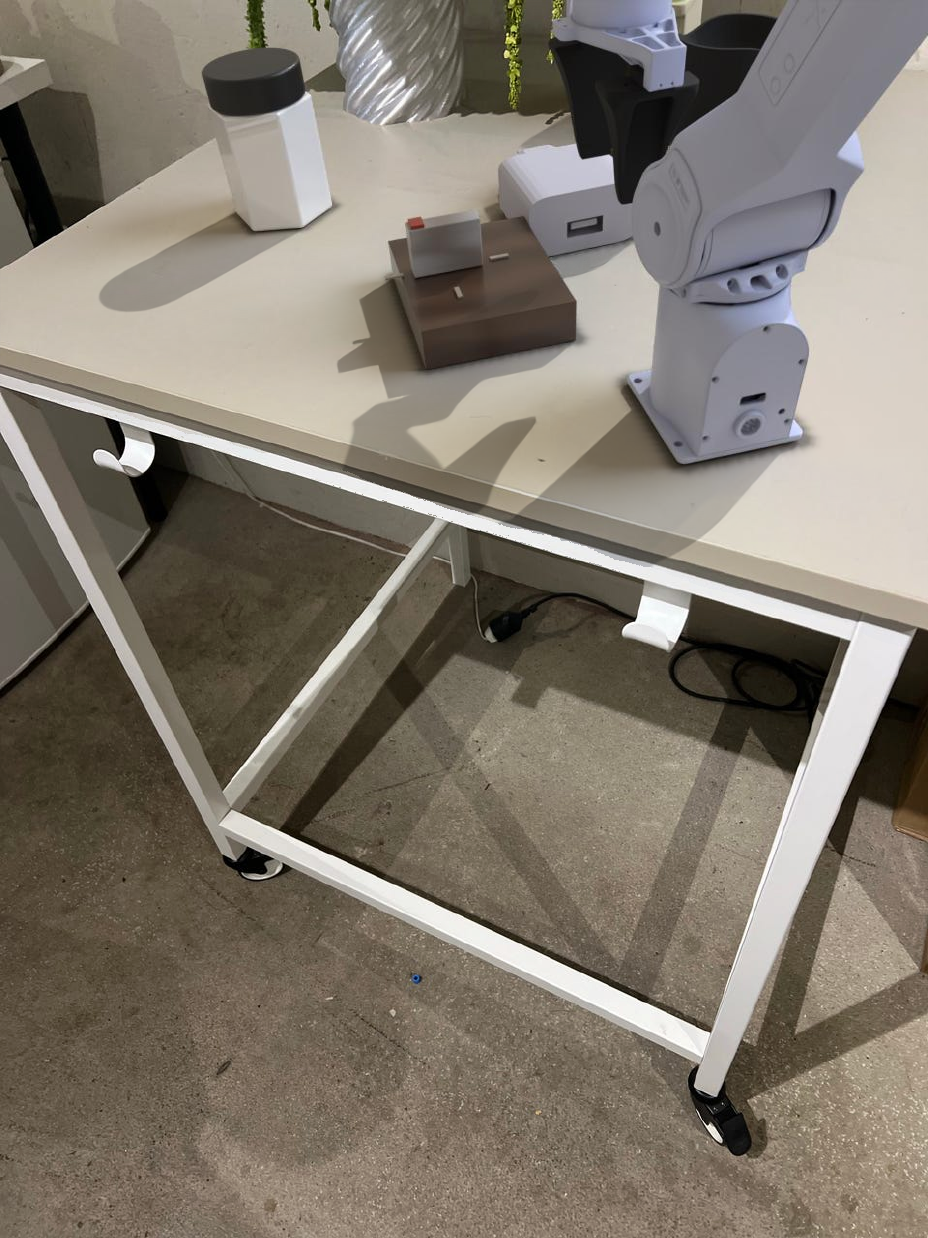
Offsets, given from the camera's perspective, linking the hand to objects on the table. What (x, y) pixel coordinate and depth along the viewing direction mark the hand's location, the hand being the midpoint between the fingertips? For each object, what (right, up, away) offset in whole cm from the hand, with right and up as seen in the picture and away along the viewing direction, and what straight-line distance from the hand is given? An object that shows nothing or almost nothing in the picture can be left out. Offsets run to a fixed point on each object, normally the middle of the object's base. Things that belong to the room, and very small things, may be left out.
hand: (613, 176), depth 57 cm
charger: (-2, +6, +18) cm, 19 cm away
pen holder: (+13, +13, +23) cm, 30 cm away
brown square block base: (-9, -6, +9) cm, 13 cm away
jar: (-26, +8, +23) cm, 36 cm away
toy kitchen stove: (+9, +25, +33) cm, 42 cm away
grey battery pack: (-11, -3, +7) cm, 13 cm away
